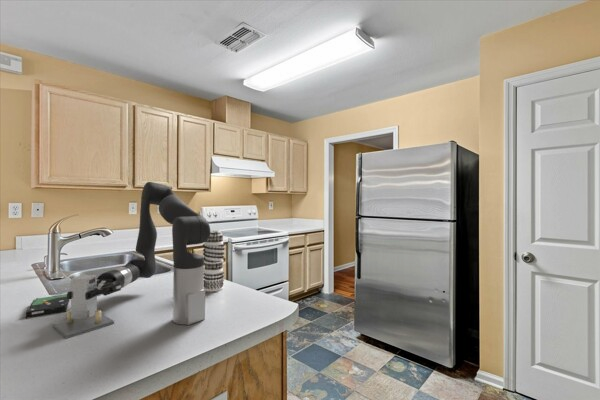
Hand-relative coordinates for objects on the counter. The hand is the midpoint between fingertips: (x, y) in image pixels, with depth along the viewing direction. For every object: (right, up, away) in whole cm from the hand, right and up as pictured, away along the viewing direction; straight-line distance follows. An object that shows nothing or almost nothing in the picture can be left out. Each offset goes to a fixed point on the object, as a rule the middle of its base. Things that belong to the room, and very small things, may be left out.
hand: (77, 296), depth 86 cm
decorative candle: (+28, -10, +40) cm, 50 cm away
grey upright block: (0, -7, +3) cm, 7 cm away
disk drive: (-22, -10, +16) cm, 29 cm away
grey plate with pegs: (0, -10, +3) cm, 10 cm away
